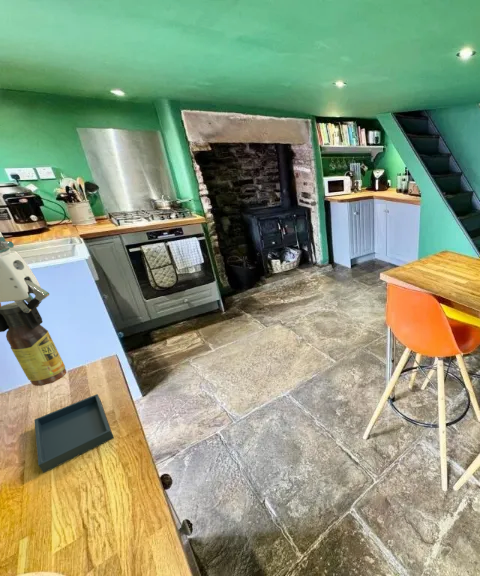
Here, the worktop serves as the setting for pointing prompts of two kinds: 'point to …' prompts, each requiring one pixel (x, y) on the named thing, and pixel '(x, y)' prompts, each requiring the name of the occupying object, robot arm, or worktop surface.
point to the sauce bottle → (32, 348)
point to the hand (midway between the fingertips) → (21, 326)
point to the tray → (70, 432)
